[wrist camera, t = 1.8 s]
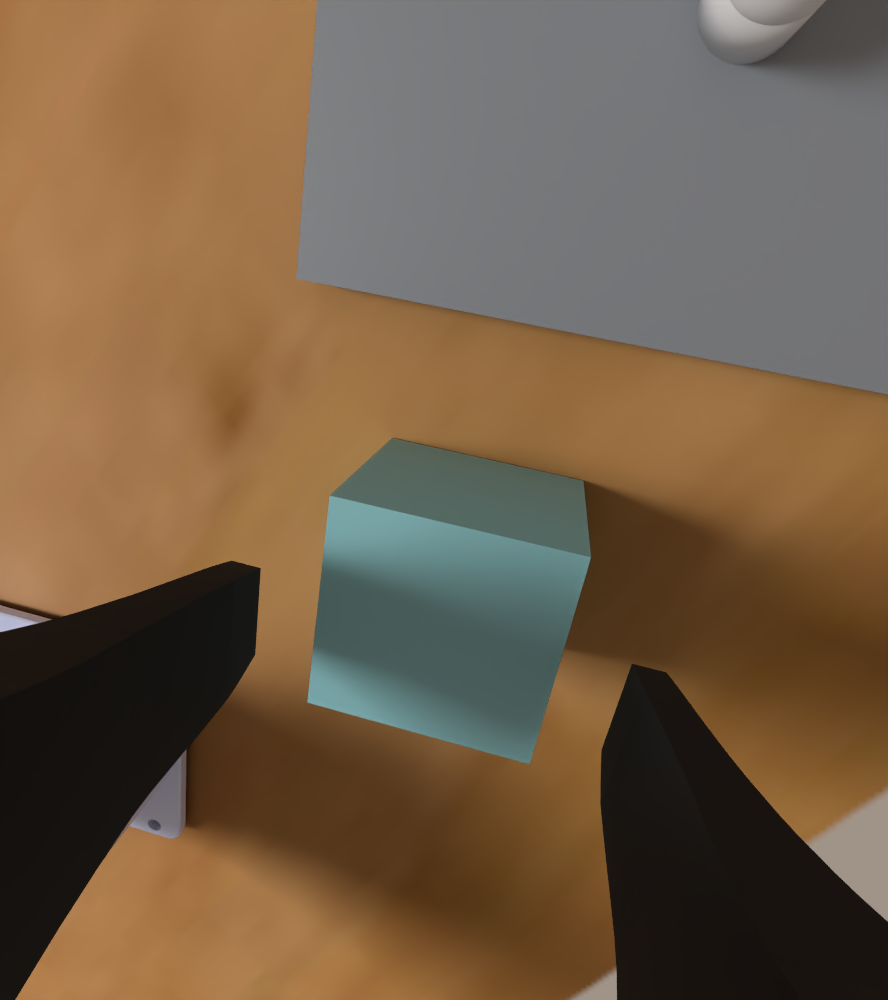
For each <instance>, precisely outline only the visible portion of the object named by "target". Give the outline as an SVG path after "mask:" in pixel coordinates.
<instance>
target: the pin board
mask: <svg viewBox="0 0 888 1000" xmlns="http://www.w3.org/2000/svg"><path fill="white" fill-rule="evenodd" d="M296 279H300V280H305V281H310V282H315V283H320V284H325V285H331V286H336V287H341V288H346V289H351V290H356V291H361V292H366V293H371V294H377V295H382V296H387V297H392V298H397V299H402V300H407V301H412V302H417V303H423V304H428V305H433V306H438V307H443V308H448V309H453V310H458V311H463V312H469V313H474V314H479V315H484V316H489V317H494V318H499V319H504V320H509V321H515V322H520V323H525V324H530V325H535V326H540V327H545V328H550V329H555V330H561V331H566V332H571V333H576V334H581V335H586V336H591V337H596V338H601V339H607V340H612V341H617V342H622V343H627V344H632V345H637V346H642V347H647V348H653V349H658V350H663V351H668V352H673V353H678V354H683V355H688V356H693V357H699V358H704V359H709V360H714V361H719V362H724V363H729V364H734V365H739V366H745V367H750V368H755V369H760V370H765V371H770V372H775V373H780V374H785V375H791V376H796V377H801V378H806V379H811V380H816V381H821V382H826V383H831V384H837V385H842V386H847V387H852V388H857V389H862V390H867V391H872V392H877V393H882V394H888V0H317V12H316V25H315V38H314V52H313V65H312V78H311V91H310V105H309V118H308V131H307V145H306V158H305V171H304V185H303V198H302V211H301V225H300V238H299V251H298V264H297V278H296Z"/></svg>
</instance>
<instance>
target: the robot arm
mask: <svg viewBox="0 0 888 1000" xmlns="http://www.w3.org/2000/svg"><path fill="white" fill-rule="evenodd" d="M260 569H261V568H258V567H254V566H250V565H246V564H242V563H238V562H234V561H229V562H225V563H222V564H218V565H215V566H212V567H209V568H206V569H203V570H201V571H198V572H195V573H192V574H189V575H187V576H184V577H181V578H178V579H176V580H173V581H170V582H167V583H164V584H162V585H159V586H156V587H153V588H150V589H148V590H145V591H142V592H139V593H136V594H133V595H131V596H127V597H124V598H121V599H118V600H115V601H112V602H109V603H105V604H102V605H99V606H96V607H93V608H90V609H87V610H83V611H80V612H77V613H74V614H70V615H67V616H63V617H60V618H56V619H48V618H44V617H41V616H37V615H34V614H30V613H26V612H23V611H19V610H15V609H12V608H8V607H5V606H1V605H0V1000H15V999H16V997H17V996H18V994H19V993H20V991H21V989H22V988H23V986H24V984H25V983H26V981H27V979H28V978H29V976H30V975H31V973H32V971H33V970H34V968H35V966H36V965H37V963H38V961H39V960H40V958H41V957H42V955H43V953H44V952H45V950H46V948H47V947H48V945H49V943H50V942H51V940H52V939H53V937H54V935H55V934H56V932H57V930H58V929H59V927H60V926H61V924H62V922H63V921H64V919H65V918H66V916H67V915H68V913H69V912H70V910H71V909H72V907H73V905H74V904H75V902H76V901H77V899H78V898H79V896H80V895H81V893H82V891H83V890H84V888H85V887H86V885H87V884H88V882H89V881H90V879H91V877H92V876H93V874H94V873H95V871H96V870H97V868H98V867H99V865H100V864H101V862H102V861H103V859H104V858H105V856H106V855H107V853H108V852H109V850H110V849H111V848H112V847H113V845H114V844H115V843H116V842H117V840H118V839H119V838H120V837H121V835H122V834H123V833H124V832H125V830H126V829H127V828H128V827H129V826H131V827H134V828H137V829H140V830H144V831H147V832H150V833H153V834H156V835H159V836H163V837H166V838H171V839H172V838H177V837H178V836H179V835H180V834H181V832H182V831H183V830H184V828H185V816H186V749H187V748H188V747H189V746H190V744H191V743H192V742H193V741H194V740H195V738H196V737H197V736H198V735H199V733H200V732H201V731H202V730H203V729H204V727H205V726H206V725H207V724H208V722H209V721H210V720H211V719H212V718H213V716H214V715H215V714H216V713H217V711H218V710H219V709H220V708H221V706H222V705H223V704H224V703H225V701H226V700H227V699H228V698H229V696H230V695H231V693H232V691H233V690H234V688H235V687H236V685H237V684H238V682H239V680H240V679H241V677H242V676H243V674H244V672H245V671H246V669H247V667H248V666H249V664H250V662H251V661H252V659H253V657H254V656H255V648H256V632H257V616H258V601H259V585H260ZM601 814H602V824H603V834H604V844H605V853H606V862H607V872H608V881H609V890H610V899H611V908H612V918H613V927H614V936H615V951H616V965H617V1000H888V922H887V921H886V920H885V919H884V918H883V917H882V916H881V915H879V914H878V913H877V912H876V911H875V910H874V909H873V908H872V907H871V906H869V905H868V904H867V903H866V902H865V901H864V900H863V899H862V898H861V897H860V896H859V895H857V894H856V893H855V892H854V891H853V890H852V889H851V888H850V887H849V886H848V885H847V884H846V883H845V882H844V881H843V880H842V879H841V878H840V877H838V875H836V874H835V873H834V872H833V871H832V870H831V869H830V867H828V865H827V864H825V862H824V861H823V860H822V859H821V858H820V857H819V856H818V855H817V854H816V853H815V852H814V851H813V850H812V849H811V848H810V847H809V846H808V845H807V844H806V843H805V842H804V841H803V840H802V839H801V838H800V837H799V836H798V835H797V834H796V833H795V832H794V831H793V830H792V828H791V827H790V826H789V825H788V824H787V823H786V822H785V821H784V820H783V819H782V818H781V817H780V815H779V814H778V813H777V812H776V811H775V810H774V809H773V807H772V806H771V805H770V804H769V803H768V802H767V800H766V799H765V798H764V797H763V796H762V795H761V794H760V792H759V791H758V790H757V789H756V788H755V787H754V785H753V784H752V783H751V782H750V781H749V779H748V778H747V777H746V776H745V775H744V773H743V772H742V771H741V770H740V768H739V767H738V766H737V765H736V764H735V762H734V761H733V760H732V759H731V757H730V756H729V755H728V753H727V752H726V751H725V750H724V748H723V747H722V746H721V744H720V743H719V742H718V741H717V739H716V738H715V737H714V735H713V734H712V733H711V731H710V730H709V729H708V727H707V726H706V725H705V723H704V722H703V721H702V719H701V718H700V717H699V715H698V714H697V713H696V711H695V710H694V709H693V707H692V706H691V704H690V703H689V702H688V700H687V699H686V698H685V696H684V695H683V694H682V692H681V691H680V690H679V688H678V687H677V686H676V684H675V683H674V682H673V680H672V679H671V678H670V677H669V675H668V674H667V673H666V672H662V671H658V670H654V669H650V668H646V667H643V666H639V665H635V664H632V666H631V668H630V671H629V674H628V677H627V680H626V683H625V685H624V688H623V691H622V694H621V697H620V700H619V702H618V705H617V708H616V711H615V714H614V717H613V719H612V722H611V725H610V728H609V731H608V733H607V736H606V739H605V742H604V745H603V748H602V755H601Z"/></svg>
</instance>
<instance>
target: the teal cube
mask: <svg viewBox="0 0 888 1000" xmlns="http://www.w3.org/2000/svg"><path fill="white" fill-rule="evenodd" d="M590 560H591V551H590V541H589V531H588V521H587V511H586V501H585V491H584V481H583V480H578V479H574V478H569V477H565V476H560V475H556V474H551V473H547V472H542V471H538V470H533V469H529V468H524V467H520V466H515V465H511V464H506V463H502V462H497V461H493V460H489V459H484V458H480V457H475V456H471V455H466V454H462V453H457V452H453V451H448V450H444V449H439V448H435V447H430V446H426V445H421V444H417V443H412V442H408V441H403V440H399V439H394V438H392V439H391V440H390V441H388V442H387V443H386V444H385V445H384V446H383V447H382V448H381V449H380V450H379V451H378V452H377V453H375V454H374V455H373V456H372V457H371V458H370V459H369V460H368V461H367V462H366V463H365V464H364V465H362V466H361V467H360V468H359V469H358V470H357V471H356V472H355V473H354V474H353V475H352V476H351V477H349V478H348V479H347V480H346V481H345V482H344V483H343V484H342V485H341V486H340V487H339V488H337V489H336V490H335V491H334V492H333V493H332V494H331V495H330V499H329V508H328V517H327V526H326V535H325V545H324V554H323V563H322V572H321V581H320V591H319V600H318V609H317V618H316V627H315V637H314V646H313V655H312V664H311V673H310V683H309V692H308V701H307V703H311V704H314V705H318V706H322V707H325V708H329V709H332V710H336V711H340V712H343V713H347V714H350V715H354V716H358V717H361V718H365V719H368V720H372V721H376V722H379V723H383V724H386V725H390V726H393V727H397V728H401V729H404V730H408V731H411V732H415V733H419V734H422V735H426V736H429V737H433V738H437V739H440V740H444V741H447V742H451V743H455V744H458V745H462V746H465V747H469V748H473V749H476V750H480V751H483V752H487V753H490V754H494V755H498V756H501V757H505V758H508V759H512V760H516V761H519V762H523V763H526V764H530V761H531V758H532V755H533V751H534V748H535V745H536V741H537V738H538V734H539V731H540V728H541V724H542V721H543V718H544V714H545V711H546V708H547V704H548V701H549V697H550V694H551V691H552V687H553V684H554V681H555V677H556V674H557V671H558V667H559V664H560V660H561V657H562V654H563V650H564V647H565V644H566V640H567V637H568V634H569V630H570V627H571V623H572V620H573V617H574V613H575V610H576V607H577V603H578V600H579V597H580V593H581V590H582V586H583V583H584V580H585V576H586V573H587V570H588V566H589V563H590Z"/></svg>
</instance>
